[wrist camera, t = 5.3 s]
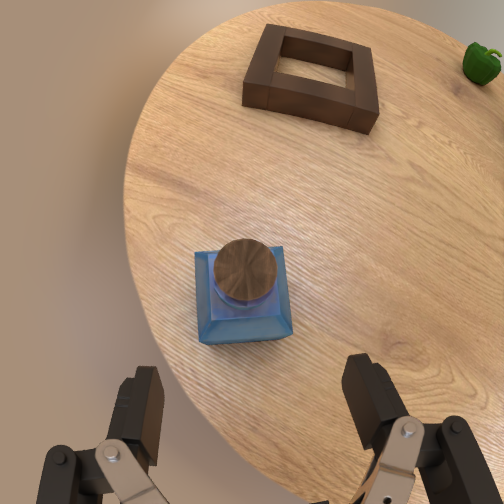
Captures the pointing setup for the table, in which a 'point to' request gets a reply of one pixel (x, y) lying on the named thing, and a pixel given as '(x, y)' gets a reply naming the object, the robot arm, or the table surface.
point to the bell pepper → (481, 64)
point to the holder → (311, 91)
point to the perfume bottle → (242, 294)
